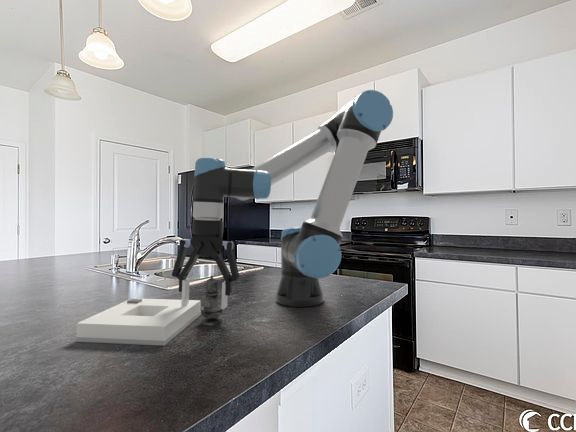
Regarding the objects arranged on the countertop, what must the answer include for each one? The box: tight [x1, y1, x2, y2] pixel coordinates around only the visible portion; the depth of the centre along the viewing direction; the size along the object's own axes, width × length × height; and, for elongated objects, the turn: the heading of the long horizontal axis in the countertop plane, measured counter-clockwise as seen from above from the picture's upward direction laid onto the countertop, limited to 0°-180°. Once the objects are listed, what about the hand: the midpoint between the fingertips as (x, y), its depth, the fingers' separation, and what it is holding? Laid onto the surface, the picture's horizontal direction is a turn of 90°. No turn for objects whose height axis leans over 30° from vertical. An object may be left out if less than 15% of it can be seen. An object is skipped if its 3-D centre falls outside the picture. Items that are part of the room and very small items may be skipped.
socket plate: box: [76, 297, 202, 346], centre depth 77 cm, size 20×20×5 cm
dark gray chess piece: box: [200, 275, 223, 327], centre depth 80 cm, size 6×6×12 cm
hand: (204, 305), depth 80 cm, fingers open, 10 cm apart
